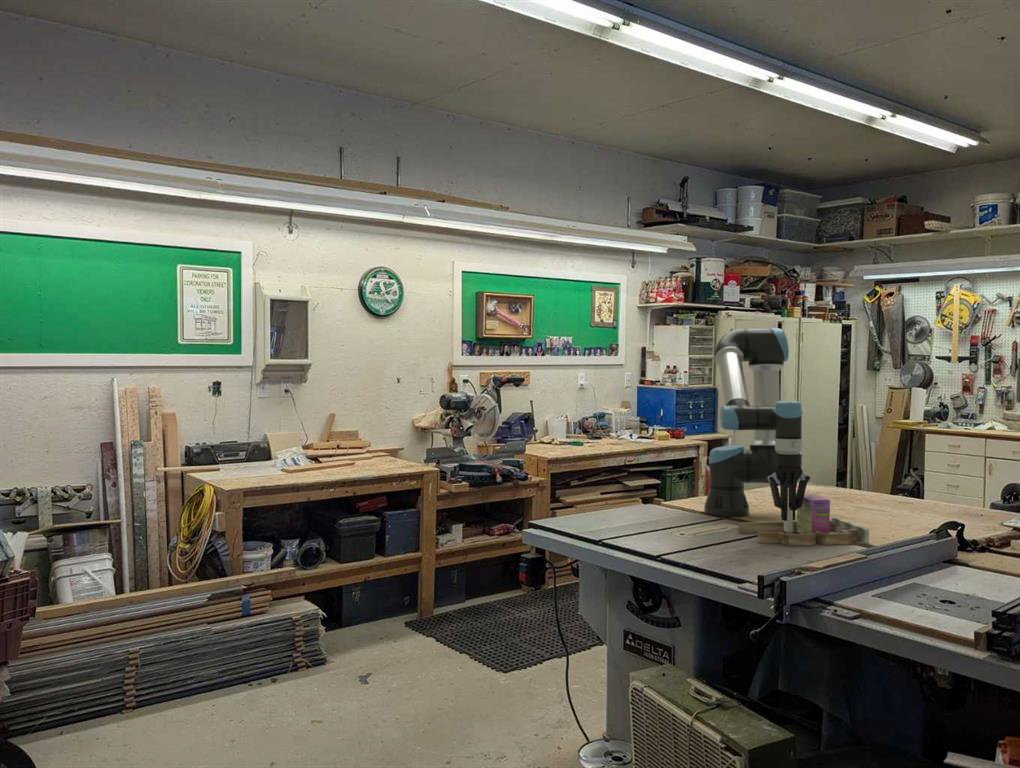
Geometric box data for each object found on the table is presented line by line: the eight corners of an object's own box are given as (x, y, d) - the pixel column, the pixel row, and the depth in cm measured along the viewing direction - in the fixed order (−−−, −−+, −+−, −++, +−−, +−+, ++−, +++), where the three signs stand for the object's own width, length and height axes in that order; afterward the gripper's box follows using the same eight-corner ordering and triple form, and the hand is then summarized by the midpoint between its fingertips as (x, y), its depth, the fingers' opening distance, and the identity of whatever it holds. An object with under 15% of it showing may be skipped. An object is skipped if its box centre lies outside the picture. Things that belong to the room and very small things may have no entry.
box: (830, 539, 225) (830, 499, 225) (811, 540, 225) (811, 499, 225) (814, 532, 235) (814, 493, 235) (796, 532, 235) (796, 494, 235)
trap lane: (738, 532, 236) (738, 519, 235) (834, 529, 239) (834, 517, 239) (764, 546, 217) (764, 532, 217) (868, 543, 220) (868, 529, 220)
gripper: (773, 454, 224) (773, 534, 225) (815, 453, 226) (815, 533, 226) (761, 451, 232) (761, 529, 232) (802, 451, 234) (802, 528, 234)
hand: (788, 531), depth 229 cm, fingers closed
